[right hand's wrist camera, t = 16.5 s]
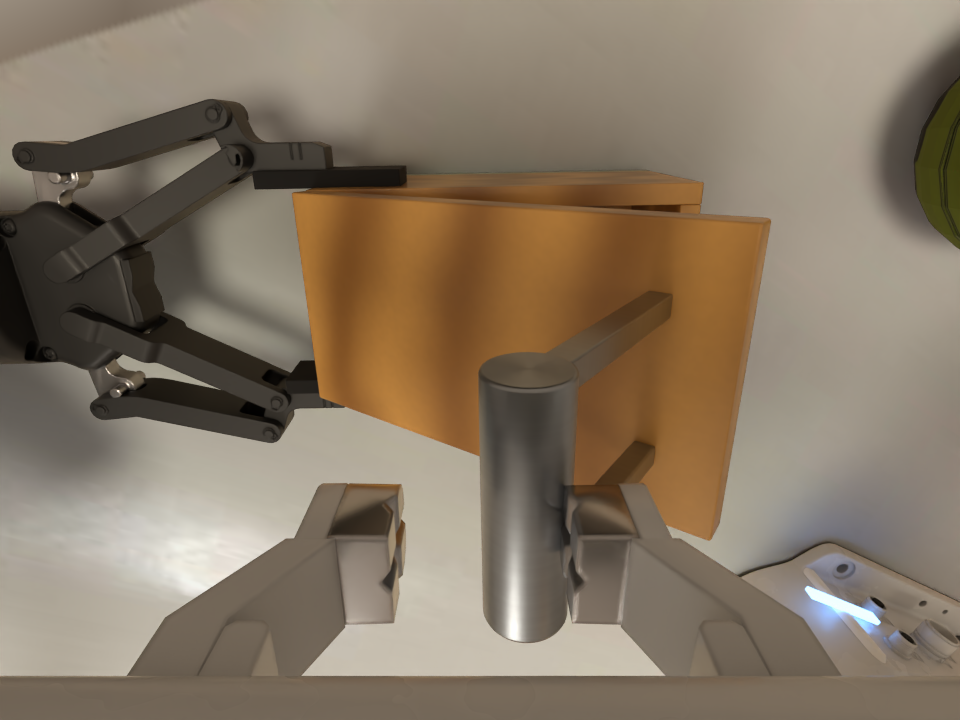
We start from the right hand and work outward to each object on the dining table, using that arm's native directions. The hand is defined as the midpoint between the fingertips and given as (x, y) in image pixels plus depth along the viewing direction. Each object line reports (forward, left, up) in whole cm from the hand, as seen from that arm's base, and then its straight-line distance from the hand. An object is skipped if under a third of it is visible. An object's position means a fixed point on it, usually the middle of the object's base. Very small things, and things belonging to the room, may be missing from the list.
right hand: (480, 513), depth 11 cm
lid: (0, 0, -11) cm, 11 cm away
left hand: (+3, +1, -19) cm, 19 cm away
